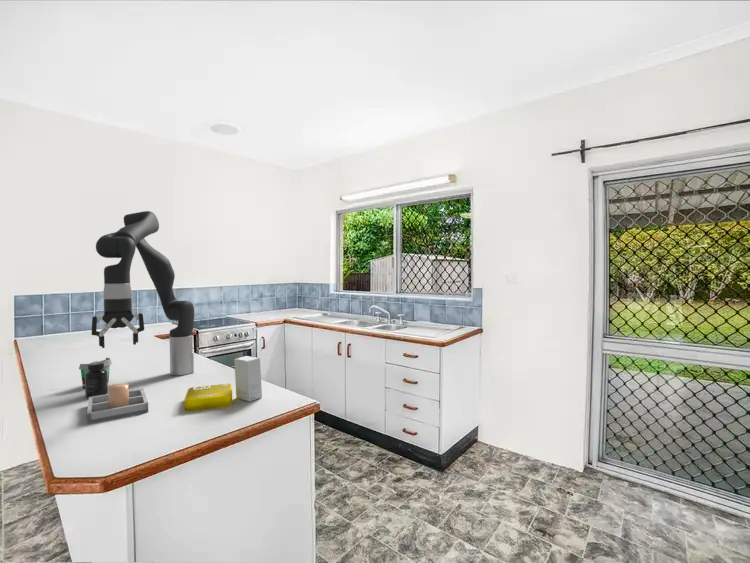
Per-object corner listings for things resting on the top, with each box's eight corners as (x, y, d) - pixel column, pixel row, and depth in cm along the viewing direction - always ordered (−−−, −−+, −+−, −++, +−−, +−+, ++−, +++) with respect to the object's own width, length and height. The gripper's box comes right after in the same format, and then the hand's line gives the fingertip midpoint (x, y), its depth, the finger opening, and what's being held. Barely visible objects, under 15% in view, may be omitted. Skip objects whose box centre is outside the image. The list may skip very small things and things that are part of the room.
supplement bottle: (112, 393, 141) (111, 362, 141) (93, 399, 135) (92, 366, 134) (99, 391, 143) (99, 360, 143) (80, 397, 137) (79, 365, 137)
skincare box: (262, 397, 136) (261, 357, 136) (248, 402, 131) (247, 361, 131) (248, 393, 141) (247, 354, 140) (234, 397, 136) (233, 357, 136)
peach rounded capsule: (128, 405, 126) (128, 382, 125) (129, 410, 121) (129, 386, 121) (108, 408, 122) (108, 385, 122) (108, 414, 118) (108, 389, 118)
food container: (92, 390, 145) (91, 365, 145) (79, 389, 146) (78, 364, 146) (119, 381, 157) (119, 357, 157) (107, 380, 158) (107, 357, 158)
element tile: (183, 413, 122) (183, 399, 122) (188, 399, 136) (188, 386, 136) (232, 407, 128) (232, 393, 128) (232, 394, 142) (232, 381, 142)
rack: (143, 396, 138) (143, 388, 138) (148, 411, 122) (148, 402, 122) (89, 405, 128) (88, 397, 128) (87, 423, 113) (87, 414, 113)
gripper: (142, 295, 129) (143, 341, 130) (90, 297, 120) (92, 346, 121) (144, 296, 123) (145, 345, 124) (90, 299, 114) (91, 350, 115)
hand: (119, 345), depth 122 cm, fingers open, 8 cm apart
